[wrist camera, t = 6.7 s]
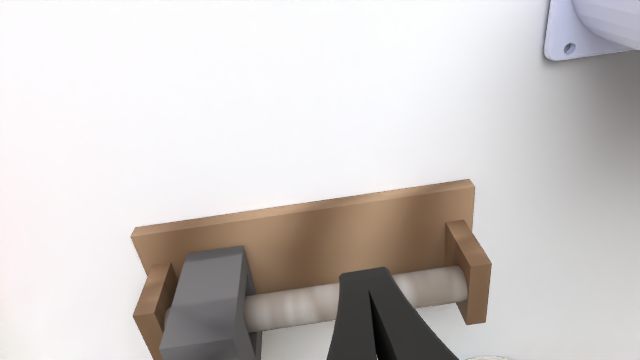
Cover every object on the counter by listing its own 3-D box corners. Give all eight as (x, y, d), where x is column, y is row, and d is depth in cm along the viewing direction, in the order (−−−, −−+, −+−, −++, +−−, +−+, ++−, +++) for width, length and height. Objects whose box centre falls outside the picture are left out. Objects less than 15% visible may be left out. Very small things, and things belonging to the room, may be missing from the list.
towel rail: (469, 179, 23) (506, 227, 19) (462, 288, 27) (492, 346, 23) (134, 227, 23) (106, 286, 19) (177, 330, 27) (160, 395, 23)
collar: (243, 245, 23) (232, 338, 18) (262, 317, 25) (258, 416, 20) (186, 253, 23) (158, 349, 18) (211, 324, 25) (194, 426, 20)
